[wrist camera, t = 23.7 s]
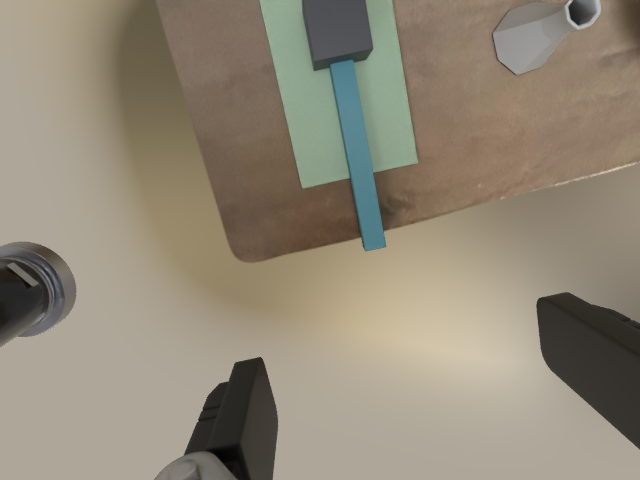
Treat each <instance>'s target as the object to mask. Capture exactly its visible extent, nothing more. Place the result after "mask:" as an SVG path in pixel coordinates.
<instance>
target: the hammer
mask: <svg viewBox="0 0 640 480" xmlns="http://www.w3.org/2000/svg"><path fill="white" fill-rule="evenodd" d="M302 14H303V19H304V24H305V29H306V34H307V39H308V44H309V50H310V55H311V60H312V65H313V70H314V71H317V70H322V69H326V68H329V70H330V75H331V80H332V85H333V91H334V96H335V101H336V106H337V112H338V117H339V122H340V128H341V133H342V138H343V143H344V149H345V154H346V159H347V164H348V170H349V175H350V180H351V186H352V191H353V196H354V201H355V207H356V212H357V217H358V222H359V228H360V233H361V238H362V243H363V247H364V249H365V251H369V250H374V249H379V248H384V247H386V243H385V237H384V232H383V226H382V220H381V215H380V209H379V203H378V198H377V192H376V186H375V181H374V175H373V169H372V164H371V158H370V152H369V147H368V141H367V135H366V130H365V124H364V118H363V113H362V107H361V101H360V96H359V90H358V84H357V79H356V73H355V67H354V62H359V61H363V60H367V58H368V56H369V55H370V53H371V52H372V50H373V42H372V36H371V30H370V24H369V18H368V12H367V6H366V0H302Z"/></svg>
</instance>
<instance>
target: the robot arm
mask: <svg viewBox="0 0 640 480" xmlns="http://www.w3.org/2000/svg"><path fill="white" fill-rule="evenodd" d="M54 300H55V294H54V289H53V286H52V283H51V281H50V279H49V277H48V276H47V275H46V273H45V272H44V271H43V270H42V269H41V268H40V267H38V266H37V265H36V264H34V263H32V262H31V261H29V260H26V259H24V258H20V257H13V256H7V257H0V347H1V346H3V345H5V344H6V343H8V342H9V341H11V340H13V339H14V338H15V337H17V336H19V335H21V334H22V333H24V332H25V331H27V330H29V329H30V328H33V327H35V326H36V325H38V324H39V323H41V322H42V321H44V320H45V319H46V318H47V317H48V316H49V314H50V313H51V311H52V309H53V306H54ZM537 316H538V326H539V336H540V345H541V351H542V355H543V358H544V360H545V362H546V364H547V365H548V367H549V368H550V370H551V371H552V372H554V373H555V374H556V375H557V376H558V377H559V378H560V379H561V380H563V381H564V382H565V383H566V384H567V385H568V386H569V387H570V388H571V389H573V390H574V391H575V392H576V393H577V394H578V395H580V397H582V398H583V399H584V400H585V401H586V402H587V403H588V404H589V405H591V406H592V407H593V408H594V409H595V410H596V411H597V412H598V413H599V414H601V415H602V416H603V417H604V418H605V419H606V420H607V421H608V422H610V423H611V424H612V425H613V426H614V427H615V428H617V429H618V430H619V431H620V432H621V433H622V434H623V435H624V436H625V437H626V438H628V439H629V440H630V441H631V442H632V443H633V444H634V445H635V446H637V447H638V448H639V449H640V323H638V322H636V321H634V320H633V321H631V319H630V318H628V317H626V316H624V315H622V314H620V313H618V312H616V311H614V310H611V309H607V308H604V307H600V306H596V305H591V304H589V303H587V302H585V301H584V300H582V299H580V298H578V297H576V296H574V295H572V294H571V293H567V292H565V293H560V294H556V295H551V296H547V297H542V298H539V299H538V301H537ZM198 420H199V422H197V424H196V426H195V429H194V431H193V434H192V437H191V439H190V441H189V444H188V446H187V449H186V451H185V454H184V456H182V457H180V458H178V459H176V460H175V461H173V462H172V463H170V464H169V465H168V466H166V467H165V468H164V469H163V470H162V471H161V472H160V473H159V474H158V475H157V477H156V478H155V479H154V480H272V479H273V469H274V460H275V451H276V440H277V431H278V417H277V410H276V405H275V401H274V397H273V394H272V390H271V386H270V383H269V379H268V375H267V371H266V368H265V364H264V362H263V359H262V358H261V357H259V358H254V359H250V360H245V361H240V362H236V363H235V364H234V367H233V370H232V373H231V376H230V379H229V382H224V383H220V384H219V385H218V386H217V387H216V388H215V389H214V390H213V391H212V392H211V393H210V394H209V395H208V397H207V399H206V402H205V404H204V407H203V411H202V412H201V414H200V417H199V419H198Z"/></svg>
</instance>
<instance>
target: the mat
mask: <svg viewBox="0 0 640 480" xmlns="http://www.w3.org/2000/svg"><path fill="white" fill-rule="evenodd" d="M259 1H260V6H261V10H262V14H263V19H264V23H265V28H266V32H267V36H268V41H269V45H270V50H271V54H272V58H273V63H274V67H275V72H276V76H277V80H278V85H279V89H280V94H281V98H282V102H283V107H284V111H285V116H286V120H287V124H288V129H289V133H290V138H291V142H292V147H293V151H294V155H295V160H296V164H297V169H298V173H299V177H300V182H301V186H302V188H307V187H312V186H316V185H321V184H325V183H330V182H334V181H339V180H343V179H348V178H350V175H349V170H348V164H347V159H346V154H345V149H344V143H343V138H342V133H341V128H340V122H339V117H338V112H337V106H336V101H335V96H334V91H333V85H332V80H331V75H330V70H329V68H326V69H322V70H317V71H314V70H313V65H312V60H311V55H310V50H309V44H308V39H307V34H306V29H305V24H304V19H303V14H302V0H259ZM366 6H367V12H368V18H369V24H370V30H371V36H372V42H373V50H372V52H371V53H370V55H369V56H368V58H367V60H363V61H359V62H354V67H355V73H356V79H357V84H358V90H359V96H360V101H361V107H362V113H363V118H364V124H365V130H366V135H367V141H368V147H369V152H370V158H371V164H372V169H373V173H375V172H379V171H384V170H388V169H393V168H397V167H402V166H406V165H411V164H415V163H418V159H417V153H416V147H415V140H414V134H413V128H412V122H411V116H410V109H409V103H408V97H407V91H406V85H405V78H404V72H403V66H402V60H401V54H400V48H399V41H398V35H397V29H396V23H395V17H394V10H393V4H392V0H366Z"/></svg>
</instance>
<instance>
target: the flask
mask: <svg viewBox="0 0 640 480" xmlns="http://www.w3.org/2000/svg"><path fill="white" fill-rule="evenodd" d="M600 14H601V6H600V0H568V1H567V2H565V3H544V2H532V3H529V4H526V5H523V6H520V7H517V8H515V9H512V10H509V11H508V13H507V14H506V16H505V17H504V18H503V20H502V21H501V22H500V24H499V25H498V27H497V28H496V29H495V31H494V32H493V38H494V42H495V47H496V52H497V56H498V60H499V61H500V62H502V63H503V64H504V65H505V66H507V67H508V68H509V69H510V70H511V71H513V72H514V73H515V74H516V75H519V74H522V73H525V72H528V71H531V70H534V69H537V68H540V67H542V66H543V65H544V63H545V62H546V61H547V60H548V58H549V57H550V56H551V54H552V53H553V52H554V50H555V49H556V48H557V47H558V45H559V44H560V43H561V42H562V41H563V40H564V38H565V37H566V36H568V35H569V34H570V33H571V32H573V31H577V30H580V29H583V28H586V27H589V26H591V25H592V24H593V23H594V22H595V20H596V19H597V18H598V16H599V15H600Z"/></svg>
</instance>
